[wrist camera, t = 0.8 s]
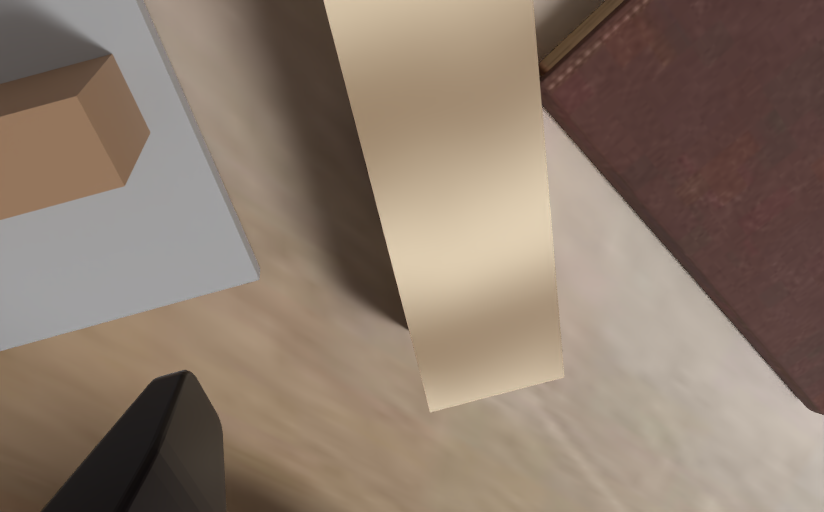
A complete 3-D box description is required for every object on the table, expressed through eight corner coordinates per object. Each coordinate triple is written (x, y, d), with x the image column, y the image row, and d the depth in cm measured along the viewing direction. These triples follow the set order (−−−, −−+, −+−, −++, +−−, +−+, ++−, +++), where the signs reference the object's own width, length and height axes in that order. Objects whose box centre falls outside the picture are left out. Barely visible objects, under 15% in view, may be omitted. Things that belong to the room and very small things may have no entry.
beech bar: (522, 296, 22) (564, 377, 19) (409, 325, 22) (430, 412, 18) (430, -459, 12) (485, -577, 9) (218, -411, 12) (190, -513, 8)
